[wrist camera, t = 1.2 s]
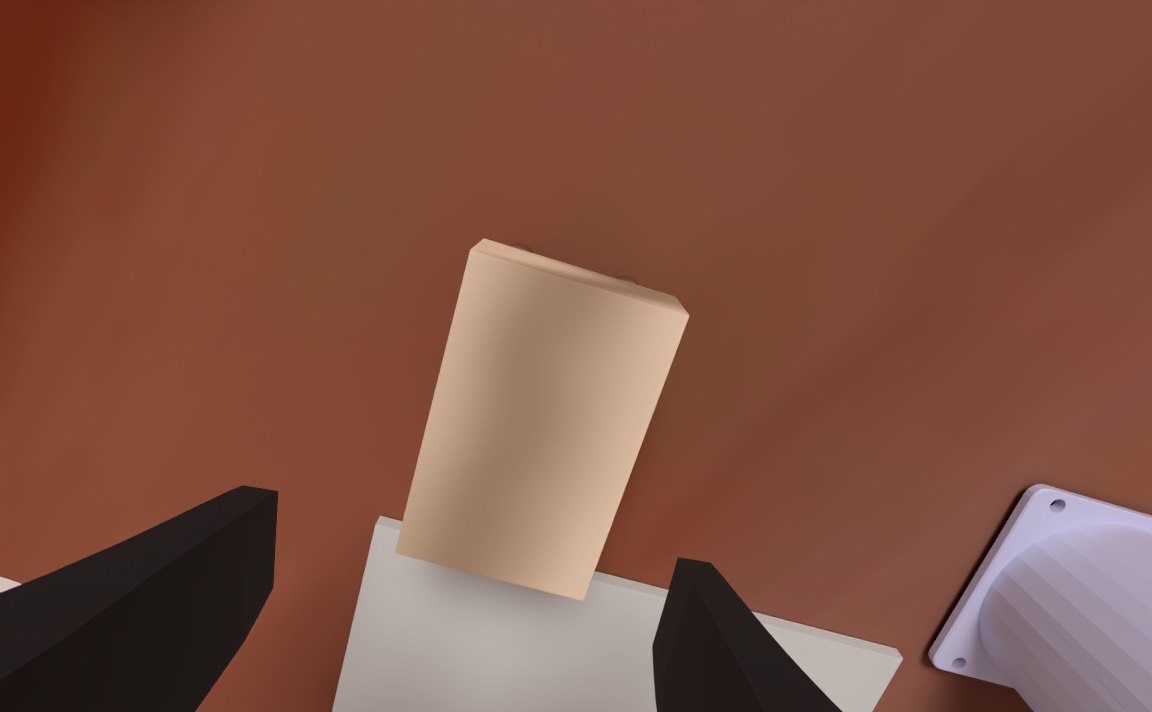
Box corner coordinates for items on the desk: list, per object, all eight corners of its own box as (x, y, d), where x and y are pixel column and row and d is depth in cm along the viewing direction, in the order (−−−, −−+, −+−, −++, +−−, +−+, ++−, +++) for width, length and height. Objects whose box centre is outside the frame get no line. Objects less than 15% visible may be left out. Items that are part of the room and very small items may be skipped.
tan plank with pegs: (657, 272, 19) (689, 315, 13) (581, 491, 21) (582, 600, 16) (500, 224, 18) (470, 249, 13) (441, 453, 21) (395, 553, 15)
